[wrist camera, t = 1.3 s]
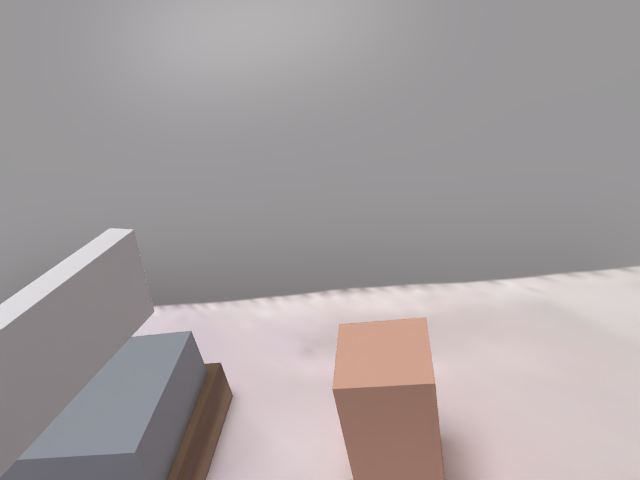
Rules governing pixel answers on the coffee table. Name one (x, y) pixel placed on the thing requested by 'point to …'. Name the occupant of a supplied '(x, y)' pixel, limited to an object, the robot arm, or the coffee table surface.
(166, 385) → the slate top block
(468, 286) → the coffee table surface
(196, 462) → the walnut base block
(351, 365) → the terracotta tall block
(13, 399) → the robot arm
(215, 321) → the coffee table surface
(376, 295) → the coffee table surface
